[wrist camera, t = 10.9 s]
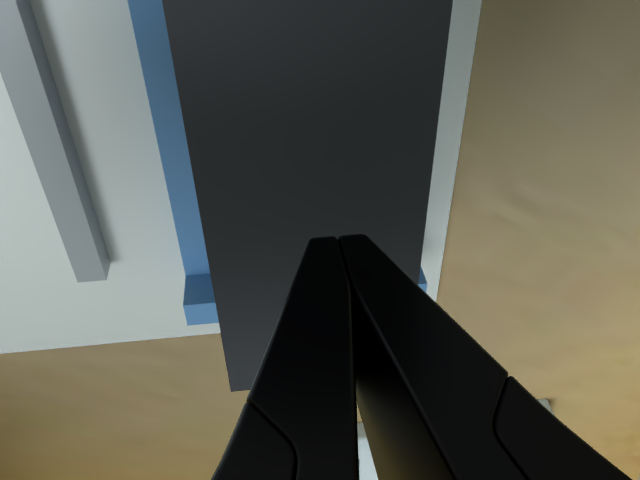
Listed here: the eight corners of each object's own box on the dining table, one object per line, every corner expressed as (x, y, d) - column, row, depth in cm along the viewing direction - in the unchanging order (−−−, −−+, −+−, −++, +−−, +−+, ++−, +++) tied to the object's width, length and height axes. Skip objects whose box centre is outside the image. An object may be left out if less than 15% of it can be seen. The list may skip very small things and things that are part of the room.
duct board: (428, 296, 21) (450, 357, 19) (-105, 345, 20) (-146, 418, 18) (537, -484, 10) (623, -547, 8) (-693, -500, 8) (-1007, -584, 6)
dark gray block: (365, 226, 18) (407, 373, 14) (231, 237, 18) (231, 391, 13) (383, -183, 12) (470, -143, 7) (172, -177, 11) (138, -132, 7)
